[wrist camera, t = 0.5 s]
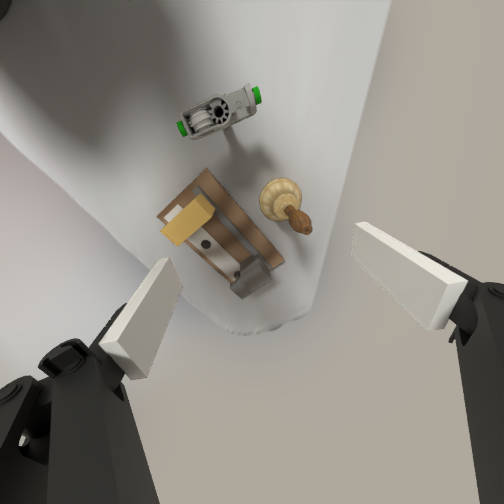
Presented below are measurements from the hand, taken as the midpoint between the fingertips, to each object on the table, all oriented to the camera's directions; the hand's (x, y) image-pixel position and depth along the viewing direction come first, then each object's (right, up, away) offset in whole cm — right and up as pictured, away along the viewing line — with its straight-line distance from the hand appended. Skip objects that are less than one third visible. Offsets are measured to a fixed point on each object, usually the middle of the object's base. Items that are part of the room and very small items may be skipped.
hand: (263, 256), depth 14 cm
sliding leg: (-12, +7, +21) cm, 25 cm away
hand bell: (+5, +11, +23) cm, 26 cm away
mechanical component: (-5, +21, +17) cm, 28 cm away
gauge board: (-6, +3, +26) cm, 27 cm away
